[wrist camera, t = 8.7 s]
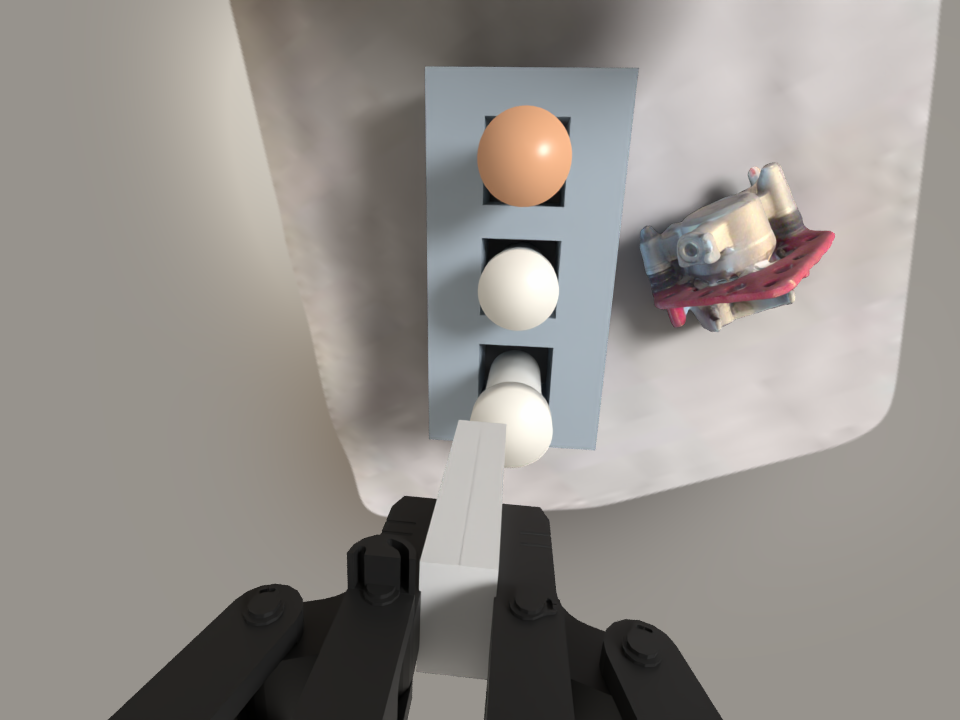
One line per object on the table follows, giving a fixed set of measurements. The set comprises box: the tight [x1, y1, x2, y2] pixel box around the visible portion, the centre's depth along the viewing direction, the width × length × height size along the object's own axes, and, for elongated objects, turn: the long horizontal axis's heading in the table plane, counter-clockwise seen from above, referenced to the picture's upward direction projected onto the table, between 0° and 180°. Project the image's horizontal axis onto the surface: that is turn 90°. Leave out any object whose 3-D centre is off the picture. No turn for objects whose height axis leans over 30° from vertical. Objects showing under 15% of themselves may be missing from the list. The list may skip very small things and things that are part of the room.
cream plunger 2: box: [470, 350, 553, 468], centre depth 32 cm, size 5×5×9 cm
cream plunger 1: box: [478, 242, 559, 331], centre depth 33 cm, size 5×5×9 cm
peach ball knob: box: [477, 105, 572, 207], centre depth 29 cm, size 5×5×9 cm
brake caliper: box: [640, 163, 835, 332], centre depth 34 cm, size 11×11×12 cm
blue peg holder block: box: [425, 66, 639, 450], centre depth 36 cm, size 24×12×7 cm, turn 179°
